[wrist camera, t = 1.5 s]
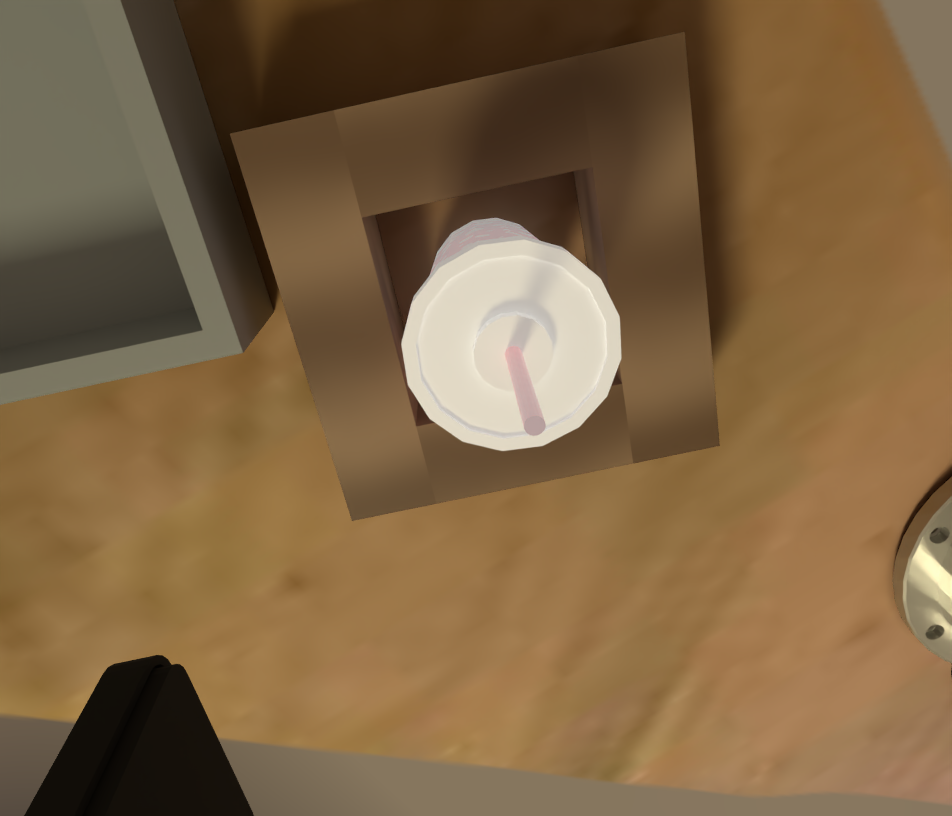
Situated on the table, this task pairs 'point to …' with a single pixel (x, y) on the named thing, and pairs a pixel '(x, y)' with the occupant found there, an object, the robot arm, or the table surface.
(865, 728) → the table surface
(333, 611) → the table surface
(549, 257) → the beverage cup
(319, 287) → the holder block
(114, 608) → the table surface
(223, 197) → the tray
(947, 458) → the table surface
